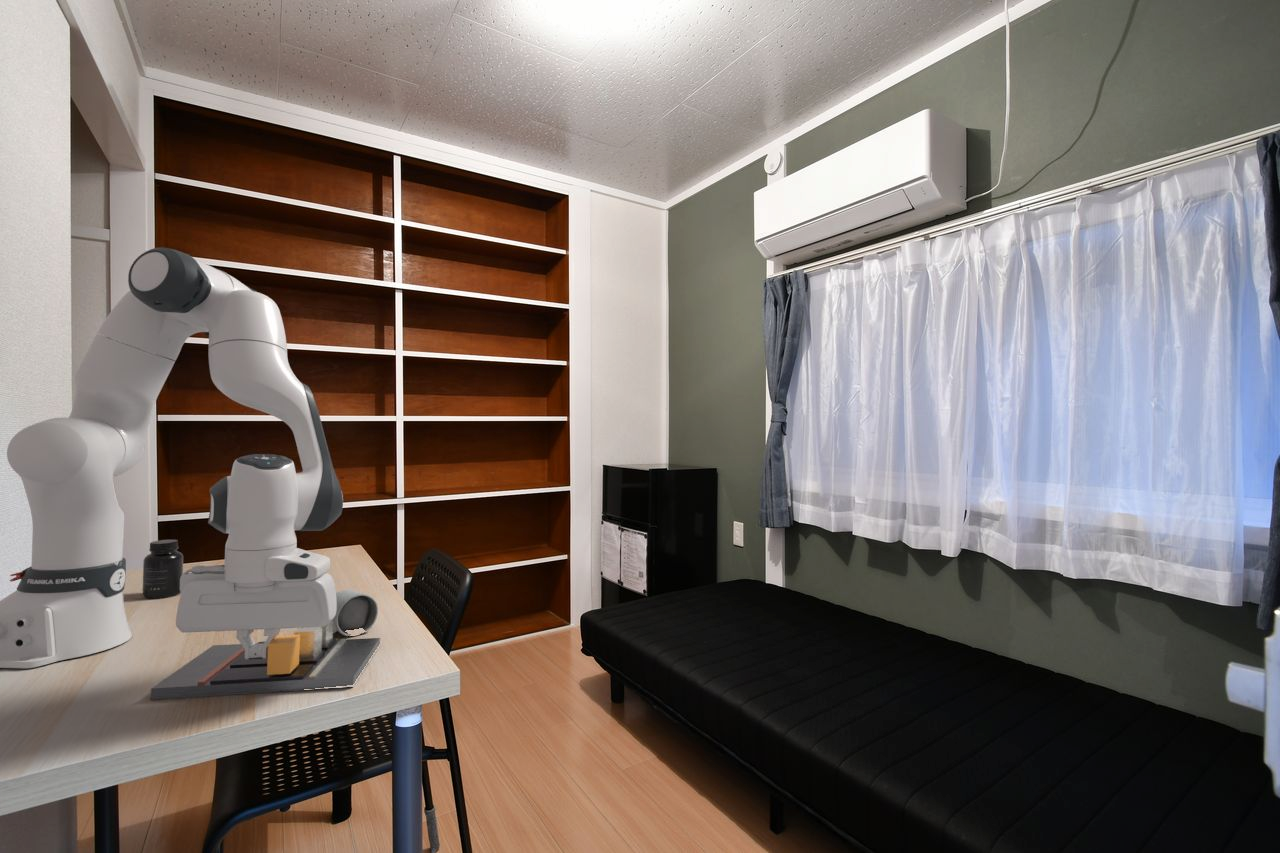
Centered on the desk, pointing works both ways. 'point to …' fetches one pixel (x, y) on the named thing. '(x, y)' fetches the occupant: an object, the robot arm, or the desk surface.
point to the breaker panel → (234, 675)
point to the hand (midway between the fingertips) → (258, 657)
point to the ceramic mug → (354, 611)
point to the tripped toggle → (283, 654)
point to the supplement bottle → (162, 570)
